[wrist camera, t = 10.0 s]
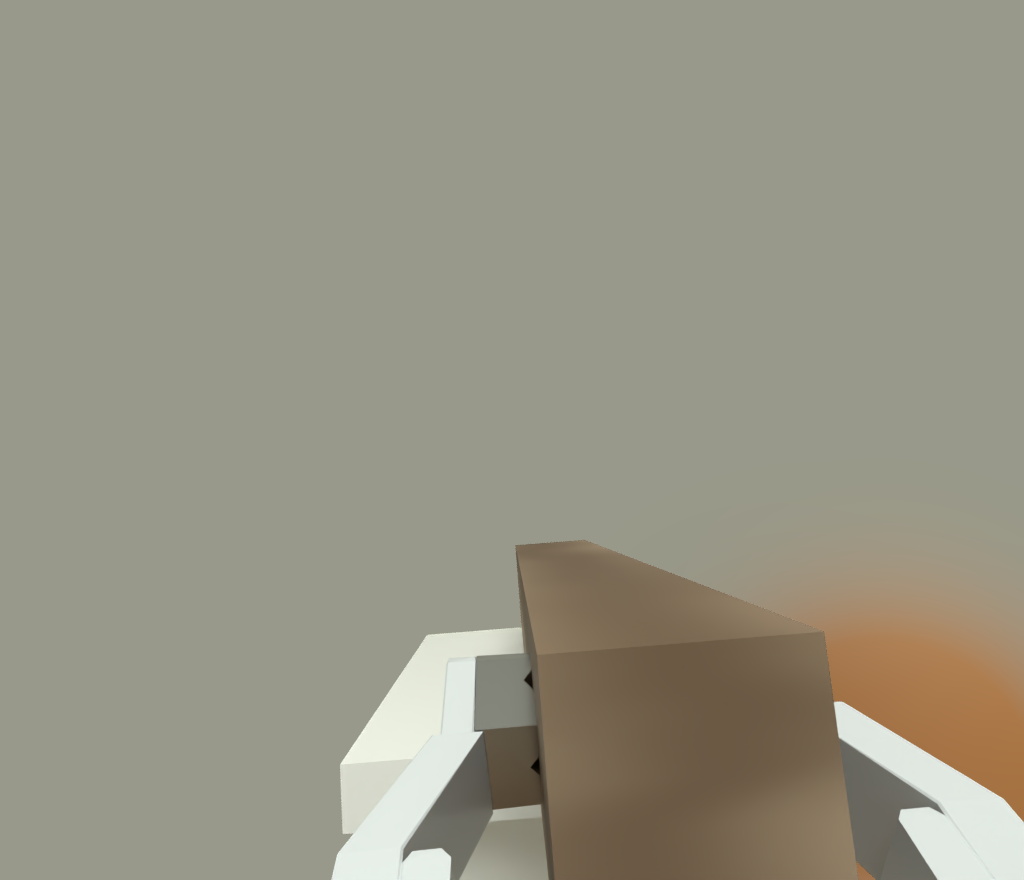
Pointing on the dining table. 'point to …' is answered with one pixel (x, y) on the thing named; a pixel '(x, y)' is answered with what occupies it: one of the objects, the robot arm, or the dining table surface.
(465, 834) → the robot arm
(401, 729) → the tall stand
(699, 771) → the walnut bar
